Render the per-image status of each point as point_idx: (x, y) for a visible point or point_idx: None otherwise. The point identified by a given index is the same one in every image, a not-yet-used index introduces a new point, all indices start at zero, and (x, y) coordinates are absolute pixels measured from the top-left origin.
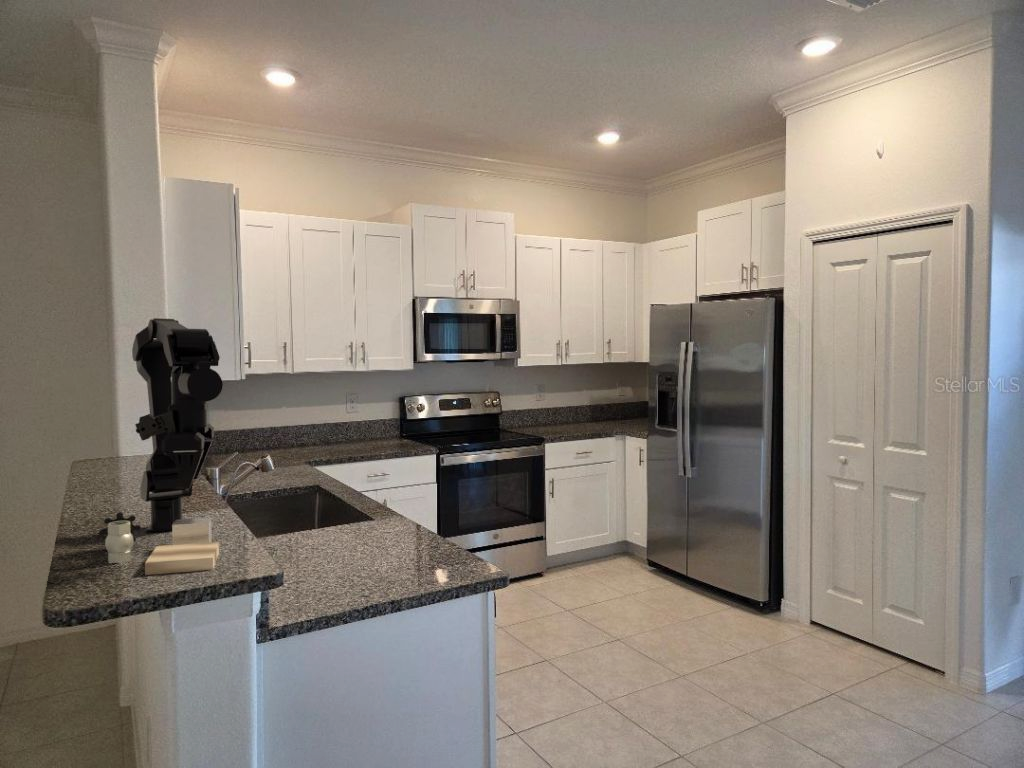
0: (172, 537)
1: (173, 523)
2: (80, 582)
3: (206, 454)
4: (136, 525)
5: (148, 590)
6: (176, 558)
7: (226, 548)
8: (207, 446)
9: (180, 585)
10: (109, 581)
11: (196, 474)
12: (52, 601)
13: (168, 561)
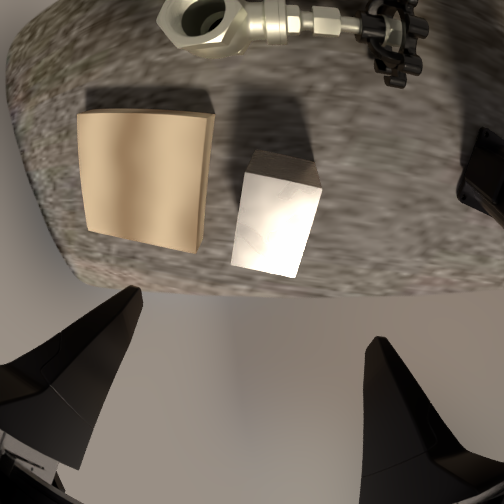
0: (251, 160)
1: (263, 177)
2: (94, 8)
3: (362, 466)
4: (398, 76)
5: (34, 133)
6: (90, 170)
7: None
8: (362, 500)
9: (45, 174)
10: (80, 56)
11: (367, 367)
12: (33, 18)
13: (79, 156)
